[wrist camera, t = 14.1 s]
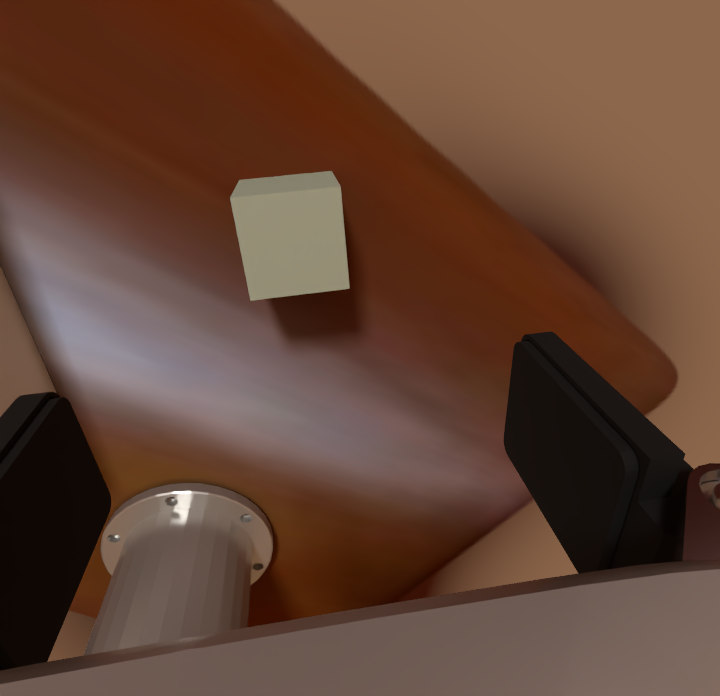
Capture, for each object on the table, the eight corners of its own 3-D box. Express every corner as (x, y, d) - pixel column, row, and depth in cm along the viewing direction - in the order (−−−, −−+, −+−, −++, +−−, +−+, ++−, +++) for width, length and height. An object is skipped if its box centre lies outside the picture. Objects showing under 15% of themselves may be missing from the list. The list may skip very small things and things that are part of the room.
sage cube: (339, 258, 28) (349, 288, 24) (255, 268, 28) (250, 300, 24) (331, 170, 26) (340, 186, 22) (239, 179, 26) (230, 197, 21)
